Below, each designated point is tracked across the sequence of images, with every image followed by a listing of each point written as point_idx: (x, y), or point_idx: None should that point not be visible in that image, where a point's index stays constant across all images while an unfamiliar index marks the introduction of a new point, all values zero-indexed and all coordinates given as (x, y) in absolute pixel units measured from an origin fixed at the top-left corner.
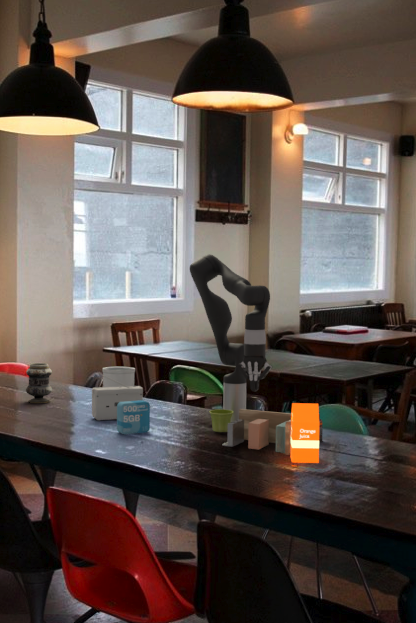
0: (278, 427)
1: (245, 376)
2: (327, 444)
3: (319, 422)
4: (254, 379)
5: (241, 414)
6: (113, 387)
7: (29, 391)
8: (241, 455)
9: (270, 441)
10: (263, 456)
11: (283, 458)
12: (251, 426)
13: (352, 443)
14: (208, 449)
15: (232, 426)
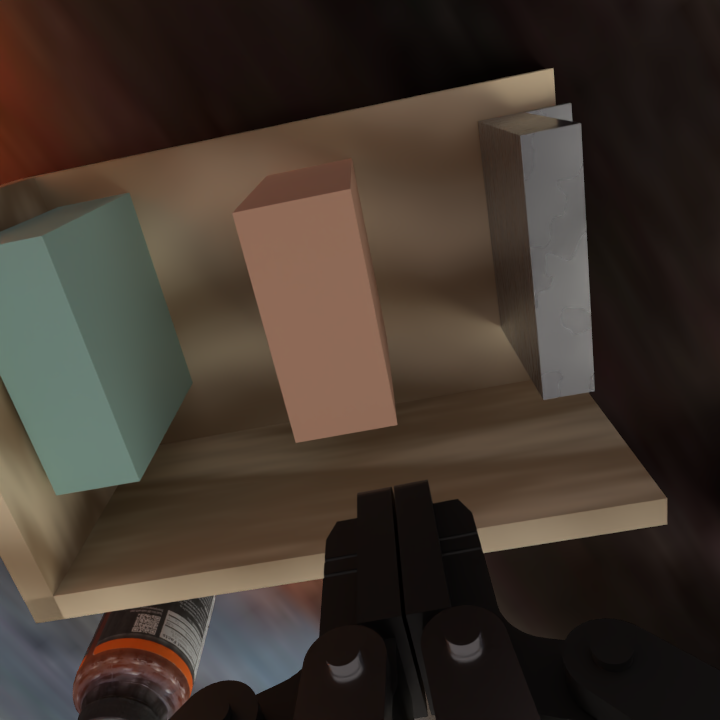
0: (22, 238)
1: (647, 659)
2: None
3: (74, 683)
4: (373, 648)
5: (623, 475)
6: None
7: None
8: (323, 16)
9: None
10: (179, 103)
11: (37, 145)
12: (318, 191)
13: (43, 692)
14: (650, 22)
15: (517, 133)
